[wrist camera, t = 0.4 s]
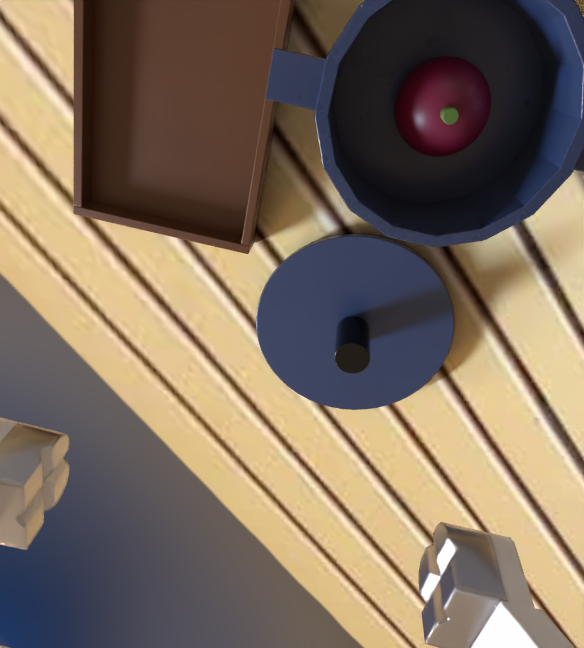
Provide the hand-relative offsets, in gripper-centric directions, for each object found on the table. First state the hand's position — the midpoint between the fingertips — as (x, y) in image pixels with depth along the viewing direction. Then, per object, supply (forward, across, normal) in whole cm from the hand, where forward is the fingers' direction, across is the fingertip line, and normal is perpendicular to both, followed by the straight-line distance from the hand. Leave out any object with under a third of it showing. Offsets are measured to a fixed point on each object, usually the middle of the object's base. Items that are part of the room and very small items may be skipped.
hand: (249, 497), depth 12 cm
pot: (+28, -5, -6) cm, 29 cm away
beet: (+27, -5, -6) cm, 28 cm away
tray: (+28, +10, -3) cm, 30 cm away
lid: (+27, -4, +10) cm, 29 cm away
